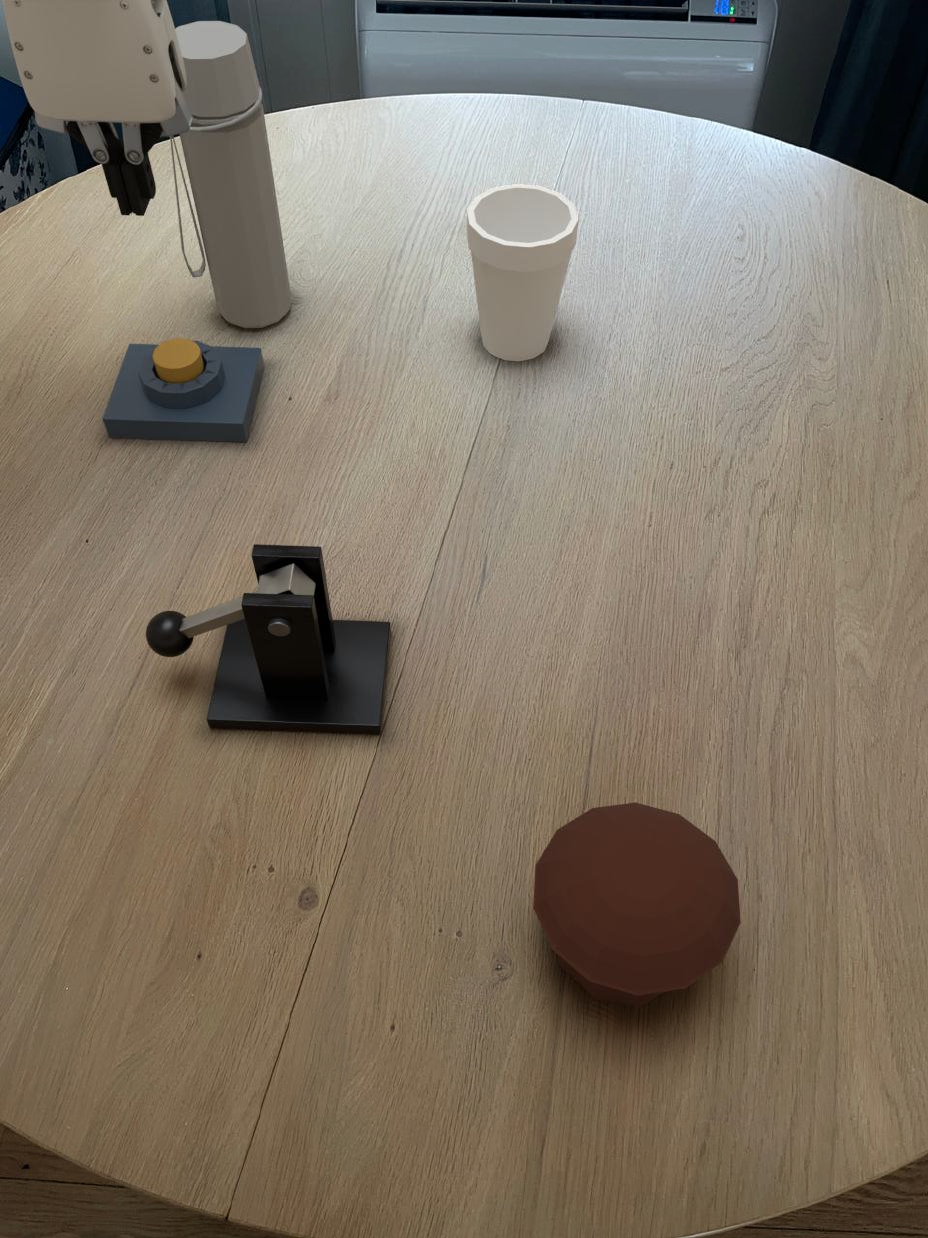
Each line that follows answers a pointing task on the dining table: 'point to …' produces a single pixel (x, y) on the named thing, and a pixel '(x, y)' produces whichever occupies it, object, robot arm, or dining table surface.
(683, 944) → the muffin
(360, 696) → the bracket
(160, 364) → the button
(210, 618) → the tap lever
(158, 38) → the robot arm
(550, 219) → the foam cup
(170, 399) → the button housing
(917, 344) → the dining table surface
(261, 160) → the water bottle
